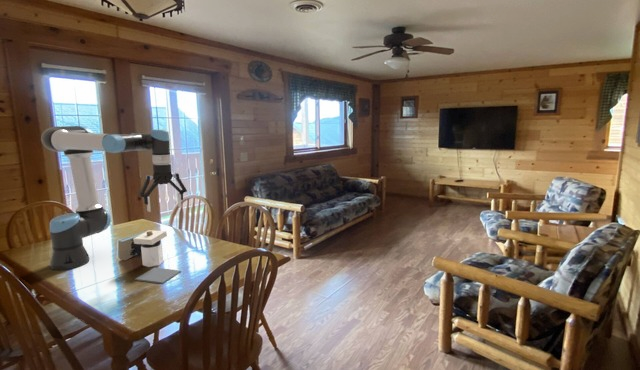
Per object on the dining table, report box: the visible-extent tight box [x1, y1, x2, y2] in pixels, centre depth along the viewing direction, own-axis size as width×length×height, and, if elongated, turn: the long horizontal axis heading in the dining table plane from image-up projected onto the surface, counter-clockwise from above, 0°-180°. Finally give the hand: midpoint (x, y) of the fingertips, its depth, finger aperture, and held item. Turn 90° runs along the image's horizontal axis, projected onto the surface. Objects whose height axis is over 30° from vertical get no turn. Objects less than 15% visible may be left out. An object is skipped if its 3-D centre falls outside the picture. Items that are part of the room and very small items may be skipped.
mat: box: [134, 267, 182, 285], centre depth 152 cm, size 14×12×1 cm
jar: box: [140, 239, 164, 268], centre depth 164 cm, size 9×8×12 cm
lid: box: [132, 229, 168, 245], centre depth 163 cm, size 10×10×4 cm
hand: (164, 209), depth 161 cm, fingers open, 13 cm apart
